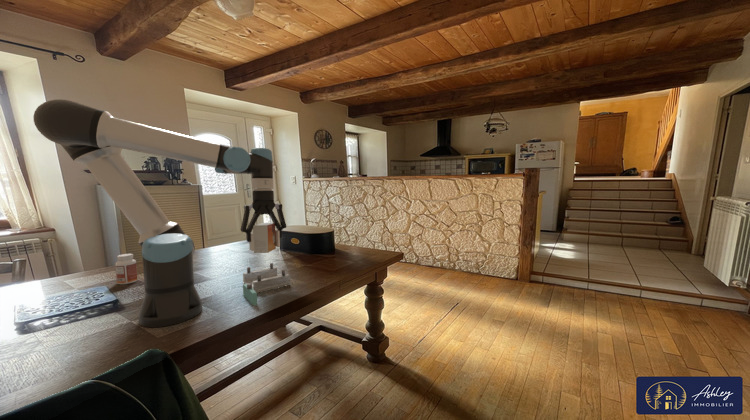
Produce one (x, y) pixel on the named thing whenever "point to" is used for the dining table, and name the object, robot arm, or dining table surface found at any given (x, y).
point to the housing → (265, 279)
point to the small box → (264, 237)
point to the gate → (250, 294)
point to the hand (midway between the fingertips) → (265, 248)
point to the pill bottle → (126, 269)
